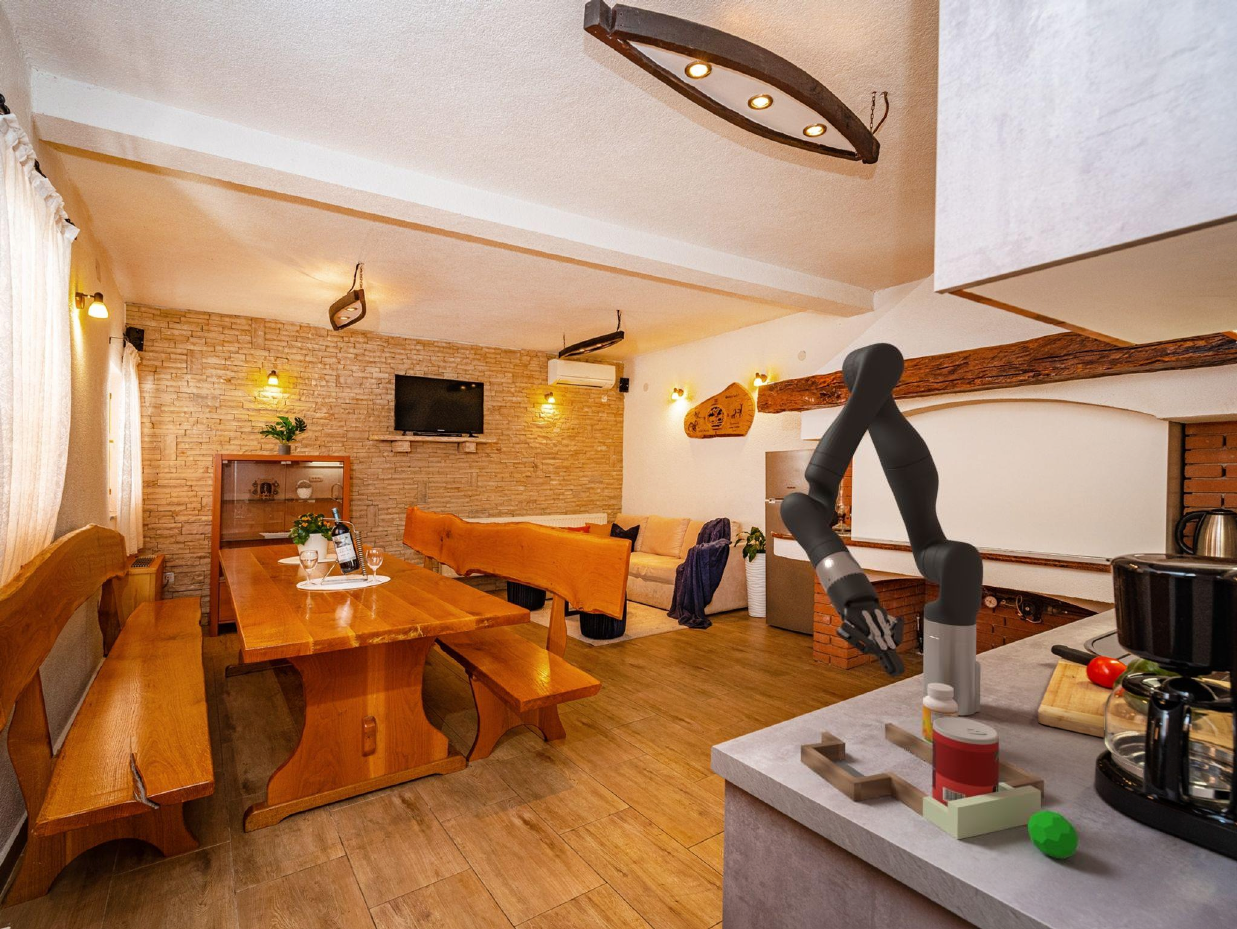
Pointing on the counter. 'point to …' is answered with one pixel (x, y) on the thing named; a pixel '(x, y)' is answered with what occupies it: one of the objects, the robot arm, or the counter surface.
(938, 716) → the supplement bottle
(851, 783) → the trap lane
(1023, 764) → the counter surface
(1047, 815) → the polyhedron
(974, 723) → the canned food
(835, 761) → the mats
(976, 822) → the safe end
